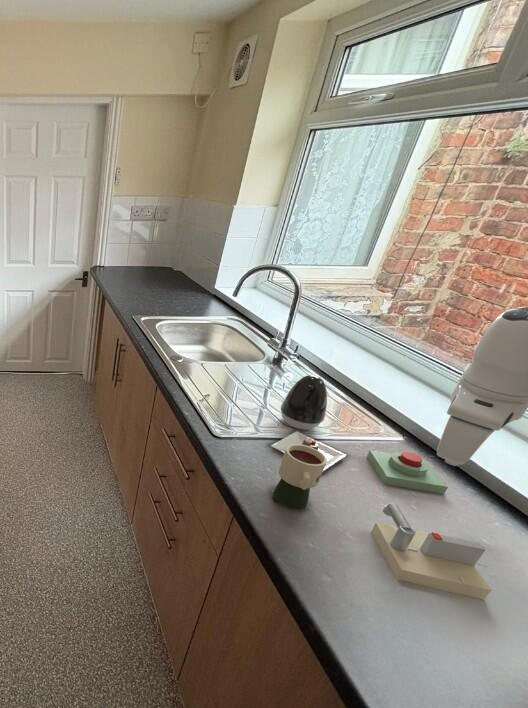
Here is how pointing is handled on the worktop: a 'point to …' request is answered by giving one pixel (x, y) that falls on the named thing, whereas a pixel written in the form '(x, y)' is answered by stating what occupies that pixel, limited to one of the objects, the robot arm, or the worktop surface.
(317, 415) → the black egg shaped dome
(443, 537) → the tap handle
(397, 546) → the spout
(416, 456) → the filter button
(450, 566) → the tap block
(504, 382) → the robot arm
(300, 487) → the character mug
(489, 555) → the worktop surface
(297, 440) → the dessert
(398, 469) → the green button base
